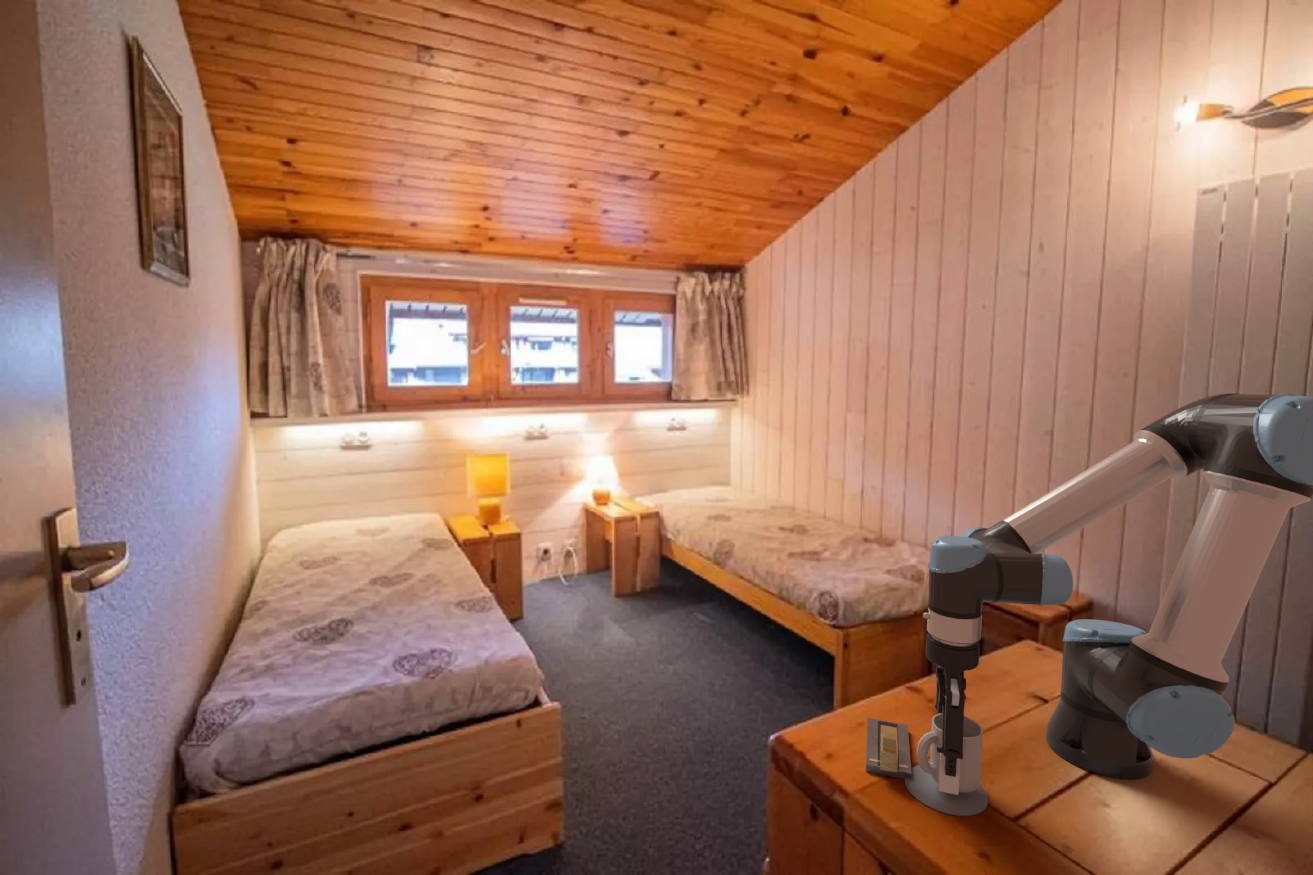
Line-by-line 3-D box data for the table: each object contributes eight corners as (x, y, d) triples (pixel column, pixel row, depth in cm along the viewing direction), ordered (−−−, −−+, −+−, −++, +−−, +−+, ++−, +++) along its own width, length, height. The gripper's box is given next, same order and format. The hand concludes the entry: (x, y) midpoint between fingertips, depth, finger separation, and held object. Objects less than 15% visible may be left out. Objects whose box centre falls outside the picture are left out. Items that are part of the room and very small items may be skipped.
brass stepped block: (896, 745, 107) (897, 716, 106) (897, 772, 99) (898, 742, 99) (880, 742, 108) (881, 714, 107) (880, 769, 100) (881, 739, 100)
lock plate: (907, 731, 114) (907, 724, 114) (911, 780, 100) (911, 773, 100) (867, 723, 116) (867, 717, 116) (865, 771, 102) (866, 763, 102)
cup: (990, 792, 94) (993, 737, 93) (928, 797, 93) (931, 741, 92) (962, 763, 101) (964, 711, 100) (904, 767, 100) (906, 715, 99)
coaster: (981, 775, 101) (981, 773, 101) (994, 824, 90) (994, 822, 90) (903, 759, 105) (903, 758, 105) (906, 805, 94) (906, 803, 94)
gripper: (922, 610, 106) (916, 736, 108) (931, 660, 87) (924, 811, 89) (970, 616, 103) (963, 745, 106) (990, 669, 85) (982, 824, 87)
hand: (945, 775), depth 97 cm, fingers closed on cup, 7 cm apart
